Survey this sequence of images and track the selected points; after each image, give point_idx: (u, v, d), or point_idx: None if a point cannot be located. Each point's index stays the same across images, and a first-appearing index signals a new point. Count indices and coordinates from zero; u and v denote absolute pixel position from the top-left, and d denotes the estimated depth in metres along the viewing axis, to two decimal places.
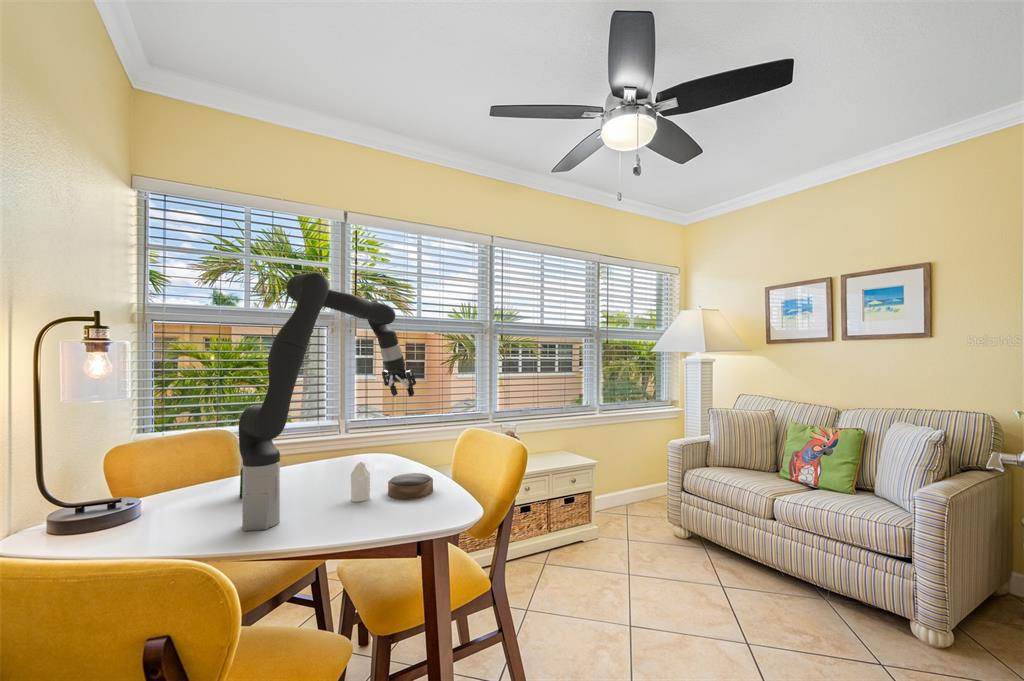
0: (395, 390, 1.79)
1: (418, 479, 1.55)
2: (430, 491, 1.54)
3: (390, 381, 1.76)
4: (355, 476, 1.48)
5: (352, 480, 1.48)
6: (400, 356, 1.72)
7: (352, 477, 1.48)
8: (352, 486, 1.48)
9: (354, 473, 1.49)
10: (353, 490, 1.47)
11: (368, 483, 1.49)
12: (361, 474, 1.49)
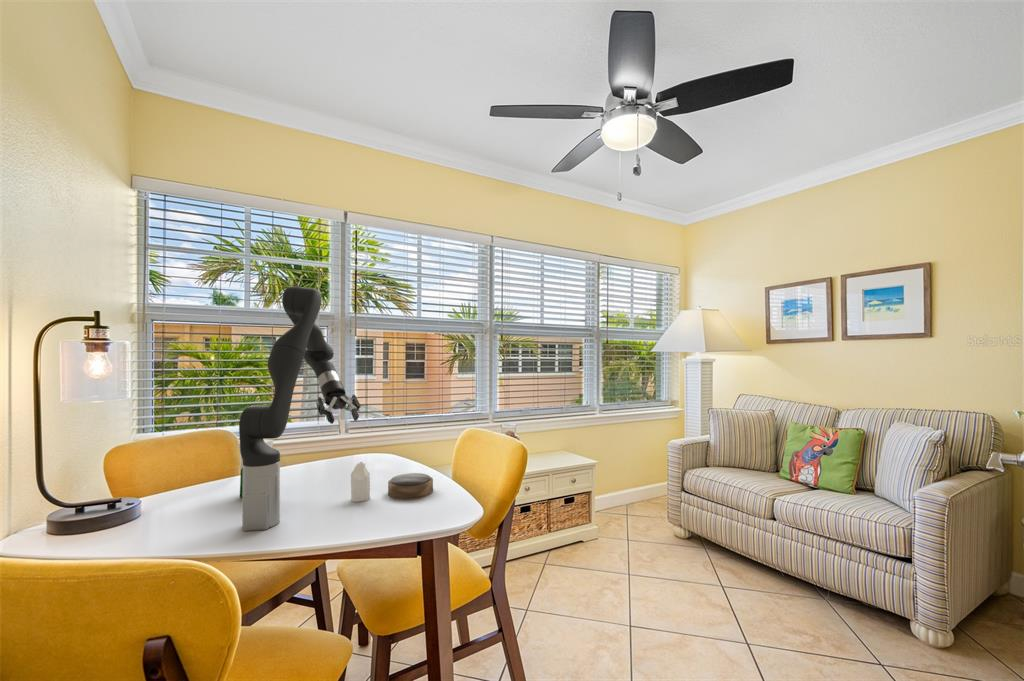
0: None
1: (418, 479, 1.55)
2: (430, 491, 1.54)
3: (332, 403, 1.59)
4: (355, 476, 1.48)
5: (352, 480, 1.48)
6: None
7: (352, 477, 1.48)
8: (352, 486, 1.48)
9: (354, 473, 1.49)
10: (353, 490, 1.47)
11: (368, 483, 1.49)
12: (361, 474, 1.49)
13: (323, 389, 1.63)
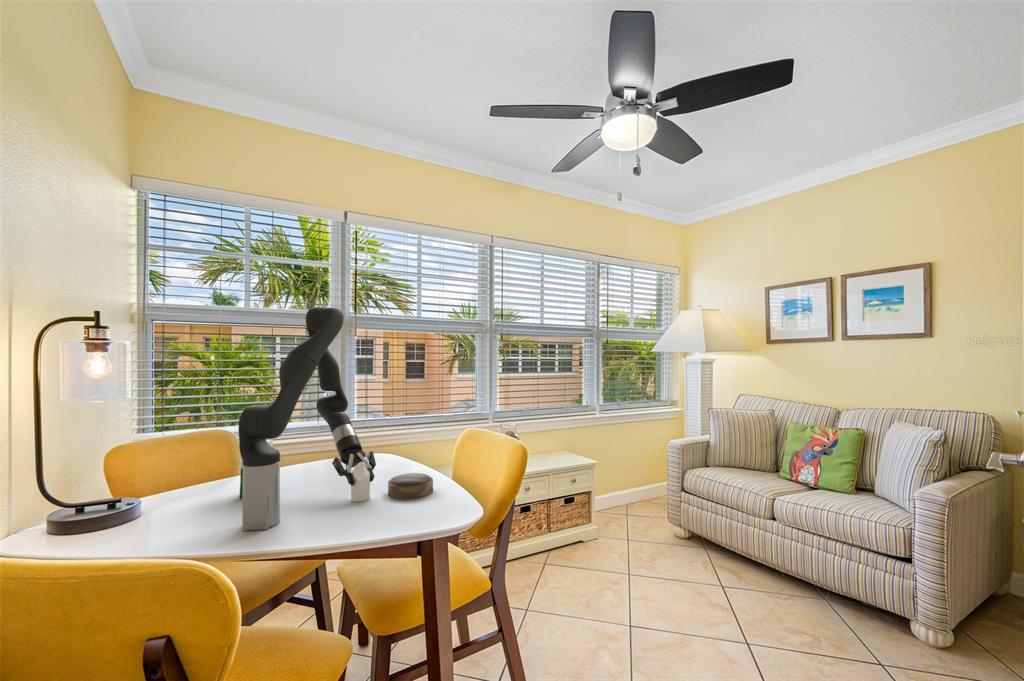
0: None
1: (418, 479, 1.55)
2: (430, 491, 1.54)
3: (350, 462, 1.50)
4: (355, 476, 1.48)
5: None
6: None
7: None
8: (352, 486, 1.48)
9: (354, 472, 1.49)
10: (353, 490, 1.47)
11: (368, 483, 1.49)
12: (361, 474, 1.49)
13: (338, 445, 1.53)
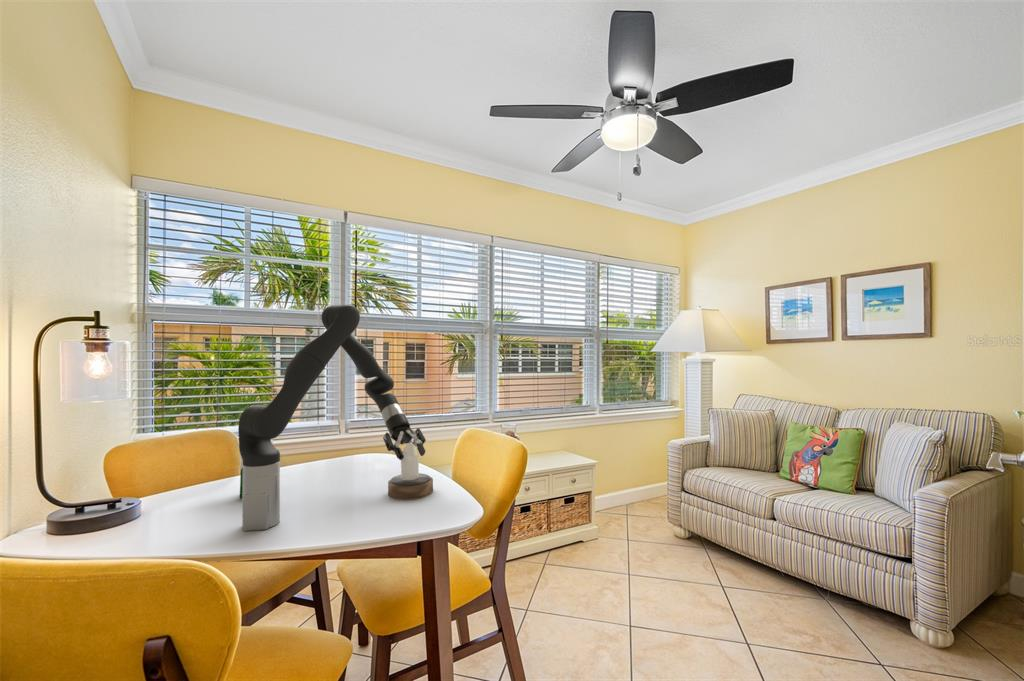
0: None
1: (418, 479, 1.55)
2: (430, 491, 1.54)
3: (399, 439, 1.56)
4: (406, 456, 1.55)
5: (402, 460, 1.55)
6: None
7: None
8: (402, 465, 1.55)
9: (404, 453, 1.55)
10: (403, 469, 1.54)
11: (417, 463, 1.56)
12: (411, 454, 1.55)
13: (389, 423, 1.60)
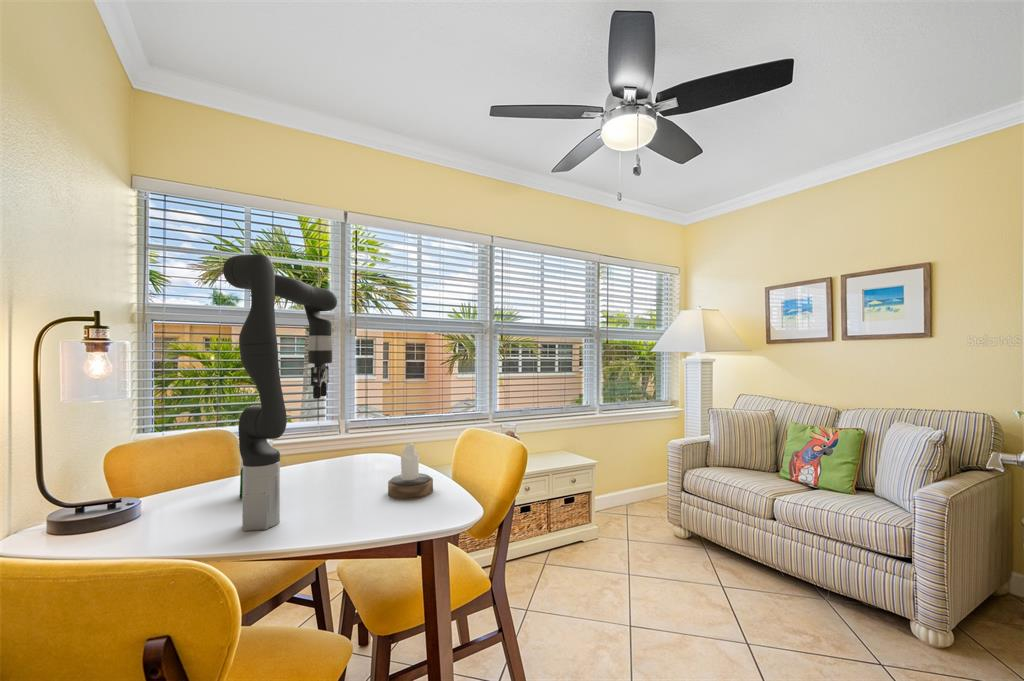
0: None
1: (418, 479, 1.55)
2: (430, 491, 1.54)
3: (323, 378, 1.52)
4: (406, 456, 1.55)
5: (402, 460, 1.55)
6: None
7: (402, 457, 1.55)
8: (402, 465, 1.55)
9: (404, 453, 1.55)
10: (403, 469, 1.54)
11: (417, 463, 1.56)
12: (411, 454, 1.55)
13: (320, 355, 1.51)
